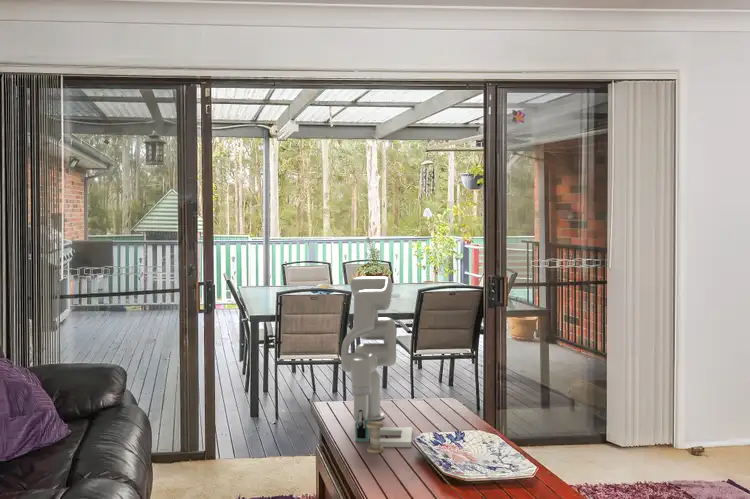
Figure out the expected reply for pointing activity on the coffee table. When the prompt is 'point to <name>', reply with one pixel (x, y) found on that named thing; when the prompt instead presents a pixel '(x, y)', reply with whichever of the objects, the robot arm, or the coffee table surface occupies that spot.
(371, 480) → the coffee table surface
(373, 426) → the bobbin
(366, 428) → the block
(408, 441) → the notched board
